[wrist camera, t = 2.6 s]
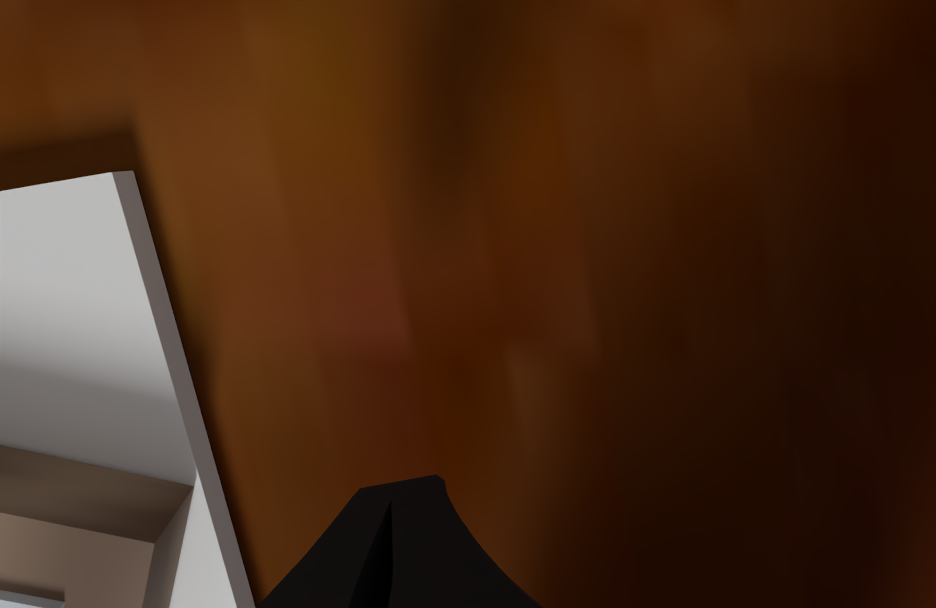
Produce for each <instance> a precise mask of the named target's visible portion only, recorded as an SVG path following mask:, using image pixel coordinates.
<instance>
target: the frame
mask: <svg viewBox="0 0 936 608" xmlns="http://www.w3.org/2000/svg"><path fill="white" fill-rule="evenodd" d="M193 490H194V486H191V485H186V484H181V483H176V482H172V481H167V480H162V479H158V478H153V477H148V476H144V475H139V474H134V473H129V472H125V471H120V470H115V469H111V468H106V467H101V466H96V465H92V464H87V463H82V462H78V461H73V460H68V459H64V458H59V457H54V456H49V455H45V454H40V453H35V452H31V451H26V450H21V449H17V448H12V447H7V446H2V445H0V608H169V606H170V601H171V596H172V591H173V587H174V582H175V577H176V572H177V567H178V562H179V558H180V553H181V548H182V543H183V538H184V533H185V529H186V524H187V519H188V514H189V509H190V504H191V500H192V495H193Z"/></svg>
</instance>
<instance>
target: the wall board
mask: <svg viewBox="0 0 936 608" xmlns="http://www.w3.org/2000/svg"><path fill="white" fill-rule="evenodd" d="M0 445H2V446H7V447H12V448H17V449H21V450H26V451H31V452H35V453H40V454H45V455H49V456H54V457H59V458H64V459H68V460H73V461H78V462H82V463H87V464H92V465H96V466H101V467H106V468H111V469H115V470H120V471H125V472H129V473H134V474H139V475H144V476H148V477H153V478H158V479H162V480H167V481H172V482H176V483H181V484H186V485H191V486H194V490H193V495H192V500H191V504H190V509H189V514H188V519H187V524H186V529H185V533H184V538H183V543H182V548H181V553H180V558H179V562H178V567H177V572H176V577H175V582H174V587H173V591H172V596H171V601H170V606H169V608H255V604H254V600H253V597H252V593H251V590H250V586H249V583H248V579H247V575H246V572H245V568H244V565H243V561H242V558H241V554H240V550H239V547H238V543H237V540H236V536H235V533H234V529H233V525H232V522H231V518H230V515H229V511H228V507H227V504H226V500H225V497H224V493H223V490H222V486H221V482H220V479H219V475H218V472H217V468H216V465H215V461H214V457H213V454H212V450H211V447H210V443H209V440H208V436H207V432H206V429H205V425H204V422H203V418H202V415H201V411H200V407H199V404H198V400H197V397H196V393H195V389H194V386H193V382H192V379H191V375H190V372H189V368H188V364H187V361H186V357H185V354H184V350H183V347H182V343H181V339H180V336H179V332H178V329H177V325H176V322H175V318H174V314H173V311H172V307H171V304H170V300H169V297H168V293H167V289H166V286H165V282H164V279H163V275H162V272H161V268H160V264H159V261H158V257H157V254H156V250H155V246H154V243H153V239H152V236H151V232H150V229H149V225H148V221H147V218H146V214H145V211H144V207H143V204H142V200H141V196H140V193H139V189H138V186H137V182H136V179H135V175H134V171H120V172H109V173H103V174H97V175H92V176H86V177H80V178H74V179H68V180H63V181H57V182H51V183H45V184H39V185H34V186H28V187H22V188H16V189H10V190H4V191H0Z"/></svg>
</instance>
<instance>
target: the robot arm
mask: <svg viewBox="0 0 936 608" xmlns="http://www.w3.org/2000/svg"><path fill="white" fill-rule="evenodd" d="M256 608H543V607H542V606H540V605H539V604H538V603H537V602H536V601H534V600H533V599H532V598H531V597H529V596H528V595H527V594H526V593H525V592H524V591H523V590H522V589H521V588H519V587H518V586H517V585H516V584H515V583H514V582H513V581H512V580H511V579H510V578H509V577H508V576H507V575H506V574H505V573H504V572H503V571H502V570H501V569H500V568H499V567H498V566H497V565H496V564H495V562H494V561H493V560H492V559H491V558H490V557H489V556H488V554H487V553H486V552H485V551H484V550H483V549H482V547H481V546H480V545H479V544H478V542H477V541H476V540H475V539H474V537H473V536H472V534H471V533H470V531H469V530H468V529H467V527H466V526H465V524H464V523H463V522H462V520H461V519H460V517H459V515H458V514H457V512H456V510H455V509H454V507H453V505H452V503H451V501H450V499H449V497H448V495H447V491H446V486H445V481H444V480H443V479H442V478H441V477H439V476H438V475H431V476H425V477H420V478H414V479H409V480H403V481H398V482H393V483H387V484H382V485H376V486H371V487H365V488H360V489H359V490H358V491H357V492H356V494H355V495H354V496H353V497H352V498H351V500H350V501H349V502H348V503H347V505H346V506H345V507H344V508H343V510H342V511H341V512H340V513H339V515H338V516H337V517H336V518H335V520H334V521H333V522H332V523H331V525H330V526H329V527H328V528H327V530H326V531H325V532H324V533H323V534H322V536H321V537H320V538H319V539H318V540H317V542H316V543H315V544H314V545H313V546H312V548H311V549H310V550H309V551H308V552H307V554H306V555H305V556H304V557H303V558H302V559H301V560H300V561H299V562H298V564H297V565H296V566H295V567H294V568H293V569H292V570H291V571H290V572H289V573H288V574H287V575H286V576H285V577H284V579H283V580H282V581H281V582H280V583H279V584H278V585H277V586H276V587H275V588H274V589H273V590H272V591H271V592H270V594H269V595H268V596H267V597H266V598H265V599H264V600H263V601H262V602H261V603H260V604H259V605H258V606H257V607H256Z"/></svg>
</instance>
